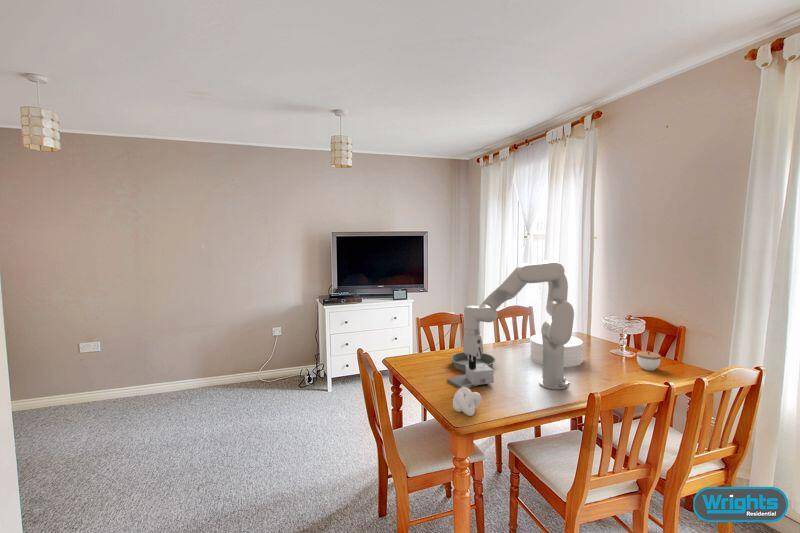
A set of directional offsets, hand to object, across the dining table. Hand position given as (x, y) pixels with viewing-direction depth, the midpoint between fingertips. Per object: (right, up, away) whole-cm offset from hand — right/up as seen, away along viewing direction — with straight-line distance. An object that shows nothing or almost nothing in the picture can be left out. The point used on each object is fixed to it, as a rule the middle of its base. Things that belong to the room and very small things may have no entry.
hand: (472, 368), depth 184 cm
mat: (-3, -8, +4) cm, 9 cm away
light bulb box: (+5, -4, -3) cm, 7 cm away
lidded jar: (+97, -5, +17) cm, 98 cm away
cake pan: (+6, -6, +28) cm, 29 cm away
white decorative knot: (-7, -11, -27) cm, 30 cm away
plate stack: (+55, -4, +36) cm, 66 cm away
